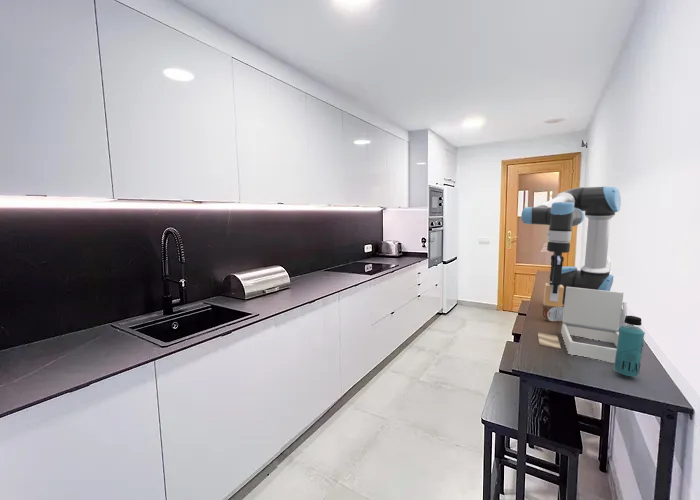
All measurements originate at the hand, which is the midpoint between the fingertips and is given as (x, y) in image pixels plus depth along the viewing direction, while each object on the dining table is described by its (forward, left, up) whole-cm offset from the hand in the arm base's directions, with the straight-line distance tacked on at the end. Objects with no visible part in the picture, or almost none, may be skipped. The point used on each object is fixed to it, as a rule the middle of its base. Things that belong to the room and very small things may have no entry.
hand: (552, 299), depth 132 cm
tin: (-30, +6, -18) cm, 36 cm away
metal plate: (0, 0, -18) cm, 18 cm away
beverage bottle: (+21, +20, -18) cm, 34 cm away
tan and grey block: (0, 0, -2) cm, 2 cm away
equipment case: (0, +15, -18) cm, 23 cm away
